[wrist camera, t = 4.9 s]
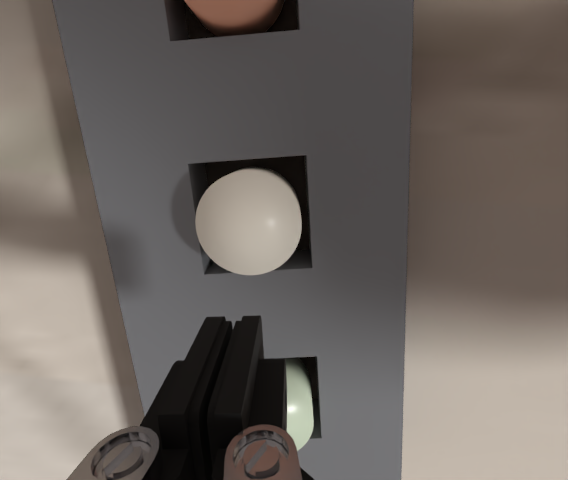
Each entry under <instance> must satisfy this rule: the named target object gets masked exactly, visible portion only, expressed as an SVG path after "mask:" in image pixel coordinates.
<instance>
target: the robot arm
mask: <svg viewBox="0 0 568 480" xmlns="http://www.w3.org/2000/svg"><path fill="white" fill-rule="evenodd" d="M67 480H314V479H313V478H312V477H311V476H310V475H309V474H308V473H307V472H305V471H304V470H303V469H302V468H301V467H300V464H299V459H298V454H297V448H296V445H295V443H294V440H293V438H292V437H291V436H290V435H289V434H288V433H287V377H286V360H285V358H270V359H264V348H263V333H262V319H261V315H258V316H243V317H242V320H241V321H236V322H235V325H234V328H233V327H232V322H231V321H226V318H225V316H220V317H206V318H205V320H204V322H203V324H202V326H201V328H200V330H199V332H198V334H197V336H196V338H195V340H194V342H193V344H192V346H191V348H190V350H189V352H188V354H187V356H186V358H185V360H178V361H175V363H174V364H173V366H172V367H171V369H170V371H169V373H168V375H167V377H166V378H165V380H164V382H163V384H162V386H161V388H160V390H159V391H158V393H157V395H156V397H155V399H154V401H153V402H152V404H151V406H150V408H149V410H148V412H147V413H146V415H145V417H144V419H143V421H142V423H141V424H140V426H134V427H128V428H124V429H121V430H119V431H116V432H114V433H112V434H110V435H108V436H107V437H105V438H104V439H103V440H101V441H100V442H99V443H98V444H97V445H96V446H95V447H94V448H93V449H92V450H91V451H90V452H89V453H88V454H87V455H86V457H85V458H84V459H83V460H82V461H81V463H80V464H79V465H78V466H77V468H76V469H75V470H74V471H73V472H72V474H71V475H70V476H69V477H68V478H67Z"/></svg>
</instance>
